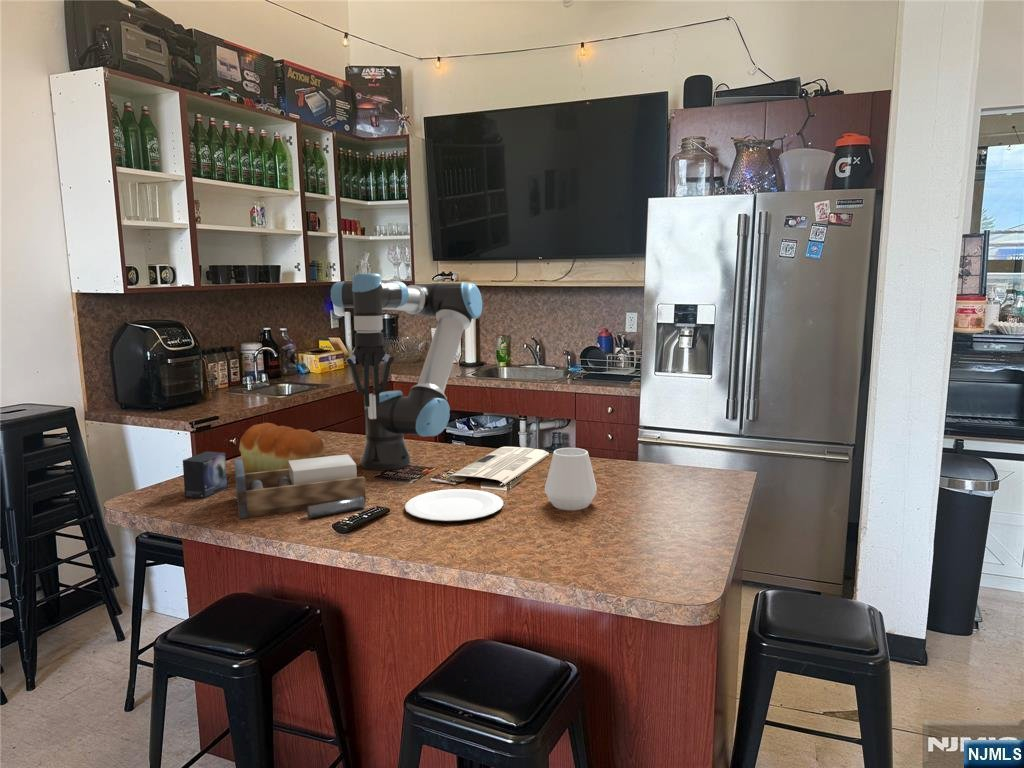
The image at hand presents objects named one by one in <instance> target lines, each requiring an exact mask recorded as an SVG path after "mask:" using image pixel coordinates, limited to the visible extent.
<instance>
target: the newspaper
mask: <svg viewBox="0 0 1024 768" xmlns="http://www.w3.org/2000/svg"><path fill="white" fill-rule="evenodd" d="M549 454H550V453H549V452H548V451H546V450H544V449H538V448H531V447H522V446H520V447H519V446H501V447H499V448H497V449H495V450H493V451H492V452H490V453H488V454H486V455H484V456H483V457H481V458H479V459H477V460H475V461H473V462H472V463H470V464H468V465H467V466H465V467H463V468H460V469H459V470H457V471H456V472H454V473H452V474H450V475H449V476H448V477H447V478H448V480H449V481H450V482H451V480H452V481H453V482H465V481H466V480H469V479H470V478H480V479H481V478H484V479H489V480H496V481H499V483H501V482H502V483H503V484H504V485H505V484H506V483H508V482H509V481H511V480H512V479H514V478H515V479H517V478H518V477H520V476H521V475H523V474H524V473H525V472H527V471H528V470H529V469H532V468H533V467H535V466H536V465H537V464H538V463H540V462H541V461H543V460H544V459H546V458H547V457H548V456H549ZM516 477H517V478H516ZM515 479H514V480H515ZM455 480H457V481H455ZM511 482H512V481H511ZM508 484H509V483H508ZM504 485H503V486H504ZM505 486H506V485H505Z"/></svg>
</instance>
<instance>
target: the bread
mask: <svg viewBox="0 0 1024 768" xmlns="http://www.w3.org/2000/svg"><path fill="white" fill-rule="evenodd" d="M238 447H239V448H238V451H239V452H240V459H242V461H243V466H244V472H245V473H254V472H263V471H272V470H281V469H289V462H288V461H290V460H300V459H309V458H318V457H325V455H326V449H325V445H324V442H323V441H322V439H321V438H320V437H319V436H318V435H317V434H315V433H314V432H312V431H310V430H308V429H303V428H298V429H295V428H293V427H291V426H286V425H277V424H275V423H271V422H262V423H258V424H253V425H252V426H250V427H249V428H248V429H246V430H245V431H244V433H243V435H242V436H241V437H240V441H239V446H238Z"/></svg>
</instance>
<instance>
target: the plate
mask: <svg viewBox="0 0 1024 768" xmlns="http://www.w3.org/2000/svg"><path fill="white" fill-rule="evenodd" d="M503 507H504V500H503V499H502V497H500V496H498V495H496V494H494V493H493V492H488V491H485V490H477V489H468V488H467V489H466V488H455V489H454V488H453V489H451V488H450V489H441V490H434V491H429V492H425V493H422V494H418V495H416V496H415V497H412V498H410V499H409V500H408V501H407V502H405V505H404V509H405V511H406V513H407V514H409V515H411V516H412V517H415V518H418V519H420V520H424V521H425V520H426V521H431V522H444V523H446V522H447V523H449V522H450V523H452V522H453V523H454V522H455V523H457V522H465V521H466V522H467V521H473V520H477V519H483V518H486V517H489V516H492V515H494V514H496V513H497V512H499V511H500V510H501V509H502V508H503Z"/></svg>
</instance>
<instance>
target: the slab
mask: <svg viewBox="0 0 1024 768" xmlns="http://www.w3.org/2000/svg"><path fill="white" fill-rule="evenodd" d="M288 462H289V477H290V480H291V482H292V485H296V484H305V483H313V482H321V481H330V480H338V479H346V478H355V477H358V476H357V463H356V462H355V461H354V460H353V458H352V457H351V456H350V455H349V453H348V454H339V455H330V456H329V455H328V456H324V457H318V458H309V459H300V460H290V461H288Z"/></svg>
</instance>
